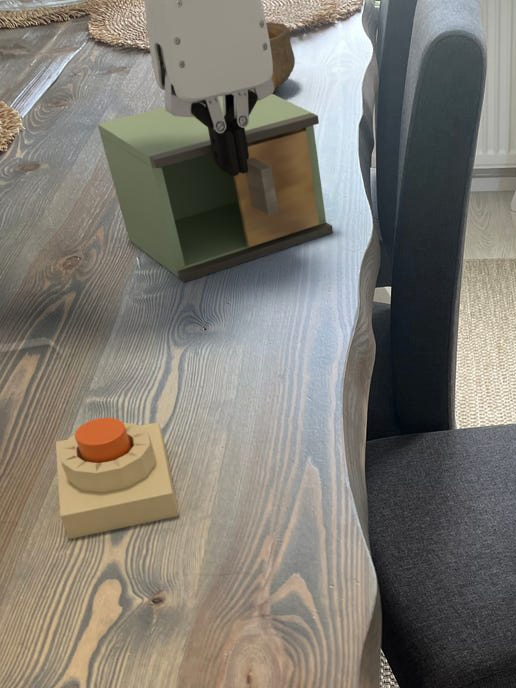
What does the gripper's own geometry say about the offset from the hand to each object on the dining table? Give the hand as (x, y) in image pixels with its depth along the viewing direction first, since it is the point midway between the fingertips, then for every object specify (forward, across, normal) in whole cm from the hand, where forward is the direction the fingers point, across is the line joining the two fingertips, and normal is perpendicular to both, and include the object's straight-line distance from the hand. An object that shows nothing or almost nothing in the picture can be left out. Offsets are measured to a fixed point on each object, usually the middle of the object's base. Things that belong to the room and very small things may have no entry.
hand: (233, 170), depth 98 cm
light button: (+6, +27, +27) cm, 39 cm away
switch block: (+10, +27, +27) cm, 40 cm away
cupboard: (+10, -2, -9) cm, 13 cm away
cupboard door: (+9, -5, 0) cm, 10 cm away
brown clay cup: (+10, -26, -51) cm, 58 cm away
